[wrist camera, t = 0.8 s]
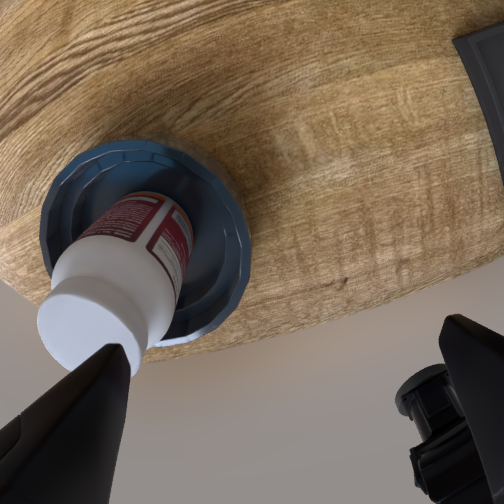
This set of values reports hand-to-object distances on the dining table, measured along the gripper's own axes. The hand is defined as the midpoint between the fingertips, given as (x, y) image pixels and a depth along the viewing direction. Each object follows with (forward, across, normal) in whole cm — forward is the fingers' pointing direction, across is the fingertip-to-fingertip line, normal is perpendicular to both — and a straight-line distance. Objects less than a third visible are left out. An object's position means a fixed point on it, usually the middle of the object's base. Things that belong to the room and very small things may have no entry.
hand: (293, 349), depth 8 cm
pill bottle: (+14, +8, +2) cm, 16 cm away
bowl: (+14, +8, +2) cm, 16 cm away
